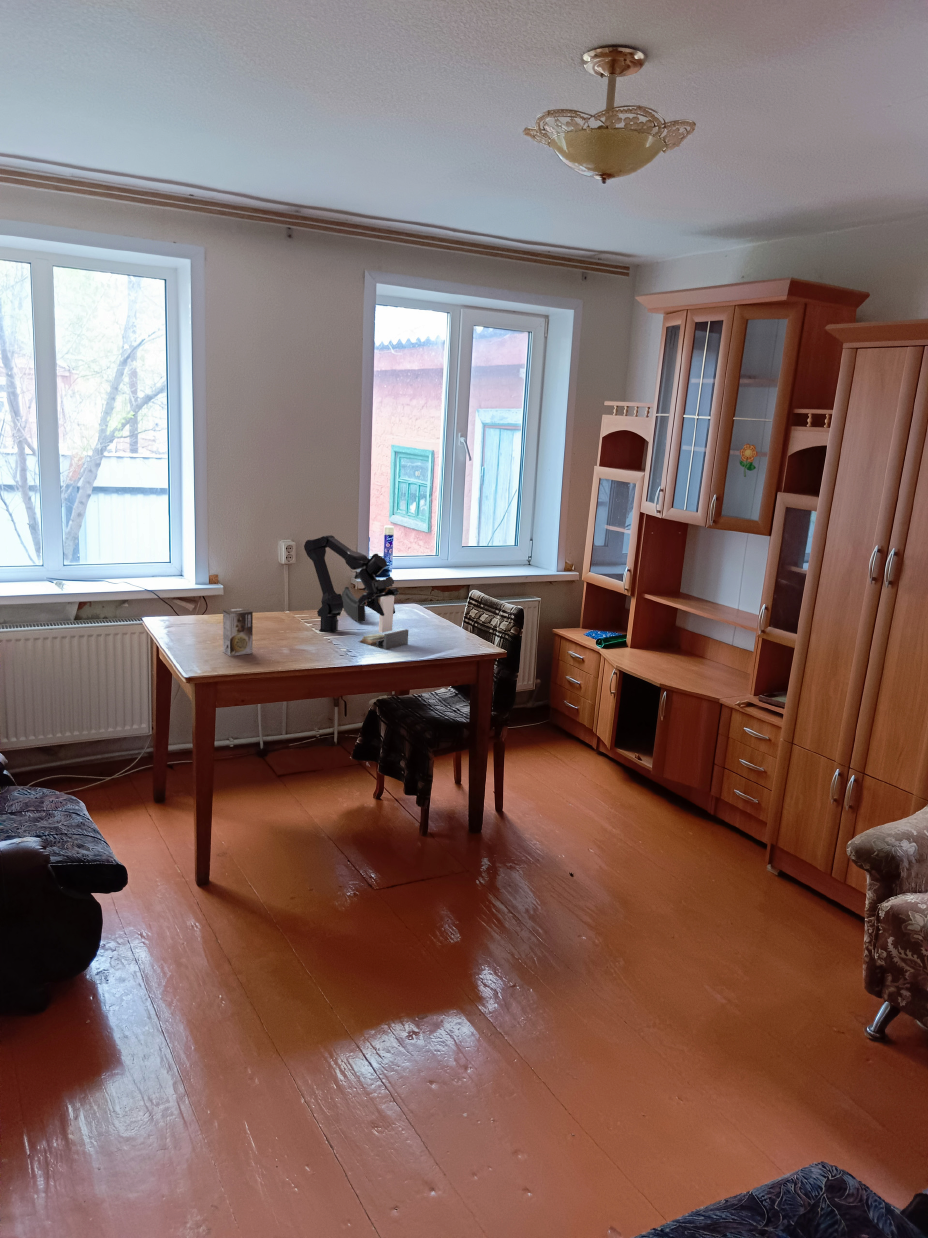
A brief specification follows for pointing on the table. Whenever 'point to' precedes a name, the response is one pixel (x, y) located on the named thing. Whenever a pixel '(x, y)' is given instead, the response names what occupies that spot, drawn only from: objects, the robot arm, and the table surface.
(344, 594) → the magazine
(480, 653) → the table surface
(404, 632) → the rack
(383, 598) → the tall sheet
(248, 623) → the coffee box
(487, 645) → the table surface
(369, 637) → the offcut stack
